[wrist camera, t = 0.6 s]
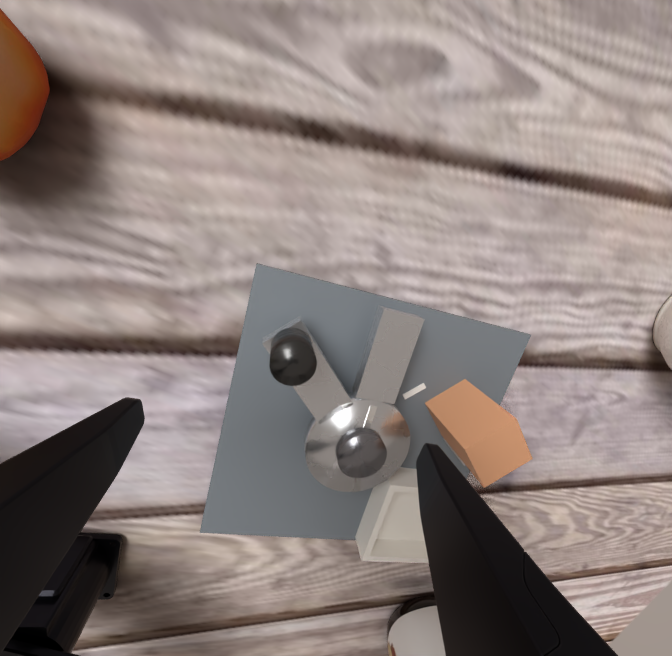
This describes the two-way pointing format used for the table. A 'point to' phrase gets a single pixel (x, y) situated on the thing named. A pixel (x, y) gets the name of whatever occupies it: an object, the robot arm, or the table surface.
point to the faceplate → (344, 357)
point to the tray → (393, 522)
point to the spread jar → (415, 629)
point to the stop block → (479, 432)
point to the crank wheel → (350, 400)
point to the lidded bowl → (664, 331)
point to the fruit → (19, 88)
